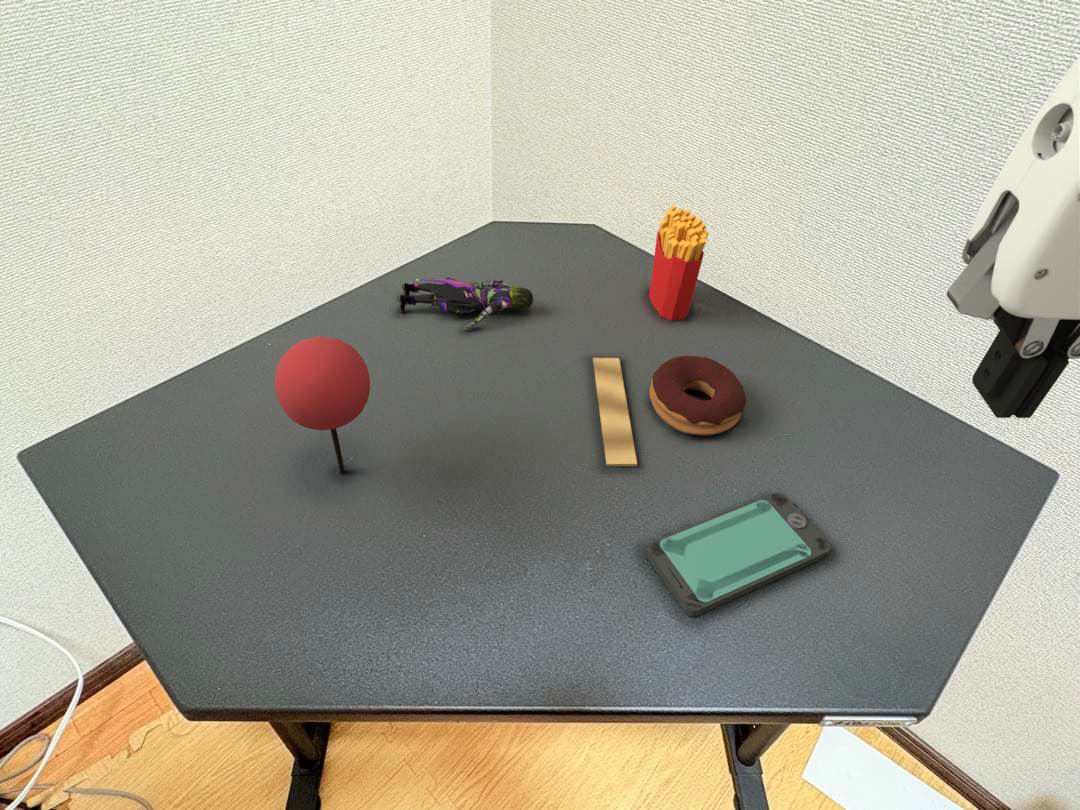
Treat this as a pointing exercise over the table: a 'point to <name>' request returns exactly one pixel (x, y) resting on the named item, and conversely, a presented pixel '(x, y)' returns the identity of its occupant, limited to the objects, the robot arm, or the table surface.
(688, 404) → the donut
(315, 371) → the lollipop
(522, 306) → the character figure
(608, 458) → the strip
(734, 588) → the smartphone
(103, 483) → the table surface
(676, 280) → the french fries
